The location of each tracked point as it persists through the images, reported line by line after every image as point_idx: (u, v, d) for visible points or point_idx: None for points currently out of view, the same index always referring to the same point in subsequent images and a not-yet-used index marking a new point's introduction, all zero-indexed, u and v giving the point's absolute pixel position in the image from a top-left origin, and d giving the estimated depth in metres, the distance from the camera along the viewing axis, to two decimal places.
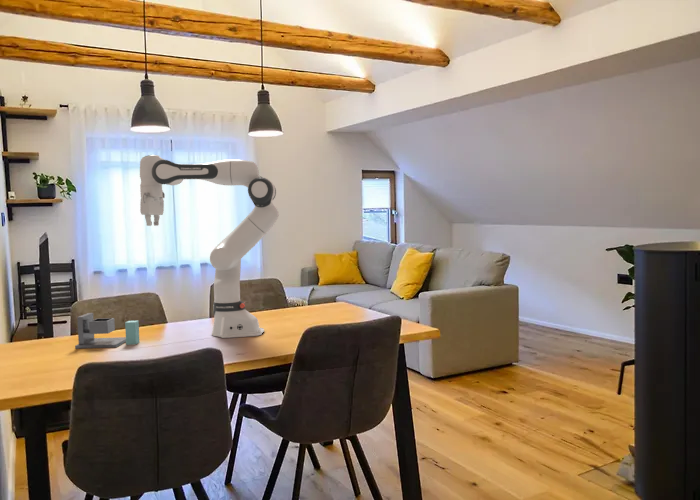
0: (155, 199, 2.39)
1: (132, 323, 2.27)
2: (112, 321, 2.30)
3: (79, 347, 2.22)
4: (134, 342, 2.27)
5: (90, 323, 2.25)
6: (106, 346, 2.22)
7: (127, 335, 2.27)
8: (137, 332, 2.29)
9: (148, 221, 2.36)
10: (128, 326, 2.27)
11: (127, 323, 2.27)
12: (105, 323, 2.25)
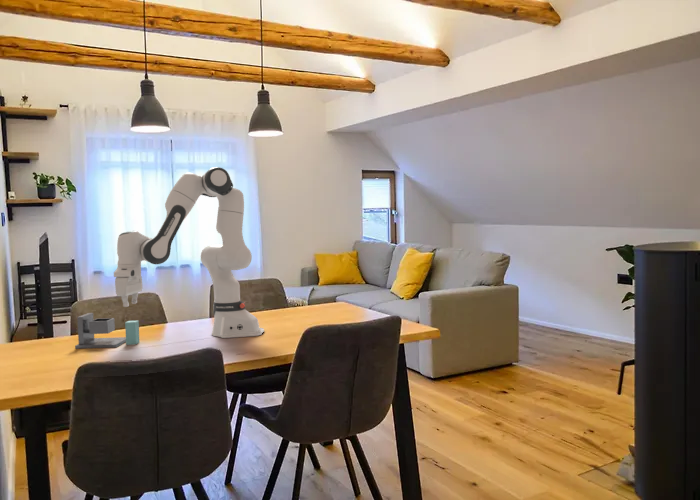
0: None
1: (132, 323, 2.27)
2: (112, 321, 2.30)
3: (79, 347, 2.22)
4: (134, 342, 2.27)
5: (90, 323, 2.25)
6: (106, 346, 2.22)
7: (127, 335, 2.27)
8: (137, 332, 2.29)
9: None
10: (128, 326, 2.27)
11: (127, 323, 2.27)
12: (105, 323, 2.25)
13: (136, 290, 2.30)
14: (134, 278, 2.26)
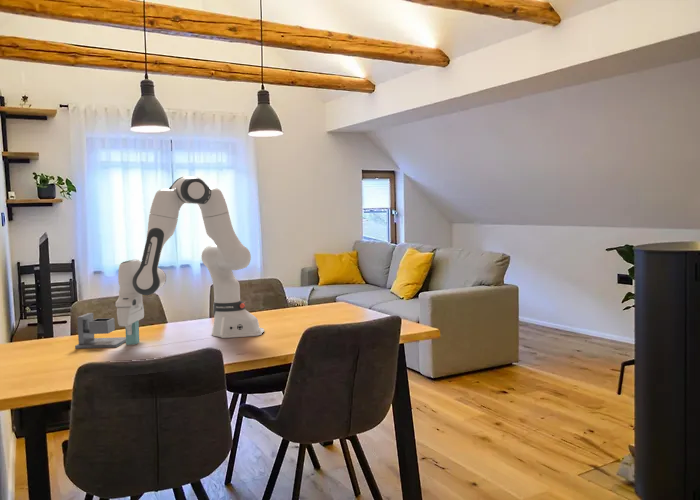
0: None
1: None
2: (112, 321, 2.30)
3: (79, 347, 2.22)
4: (134, 342, 2.27)
5: (90, 323, 2.25)
6: (106, 346, 2.22)
7: (127, 335, 2.27)
8: (137, 332, 2.29)
9: None
10: None
11: None
12: (105, 323, 2.25)
13: (138, 318, 2.31)
14: (136, 307, 2.27)
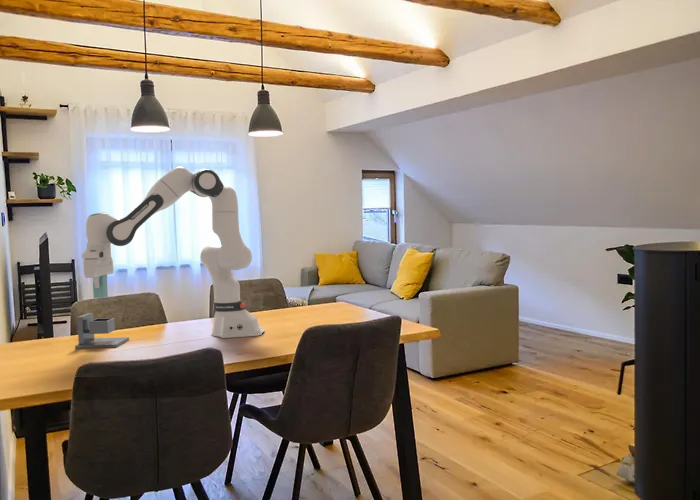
0: None
1: (100, 276, 2.25)
2: (112, 321, 2.30)
3: (79, 347, 2.22)
4: (102, 295, 2.26)
5: (90, 323, 2.25)
6: (106, 346, 2.22)
7: (95, 288, 2.26)
8: (105, 286, 2.28)
9: None
10: None
11: None
12: (105, 323, 2.25)
13: (106, 272, 2.30)
14: (103, 260, 2.25)
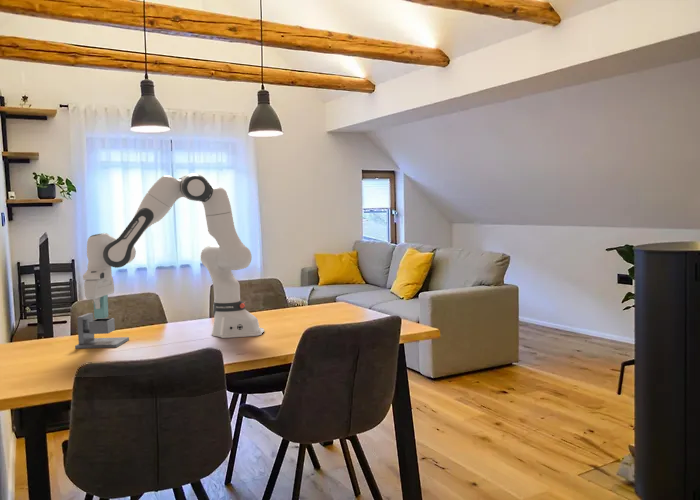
0: None
1: (100, 297, 2.26)
2: (112, 321, 2.30)
3: (79, 347, 2.22)
4: (102, 316, 2.26)
5: (90, 323, 2.25)
6: (106, 346, 2.22)
7: (95, 309, 2.26)
8: (106, 306, 2.28)
9: None
10: None
11: None
12: (105, 323, 2.25)
13: (107, 292, 2.30)
14: (104, 280, 2.26)
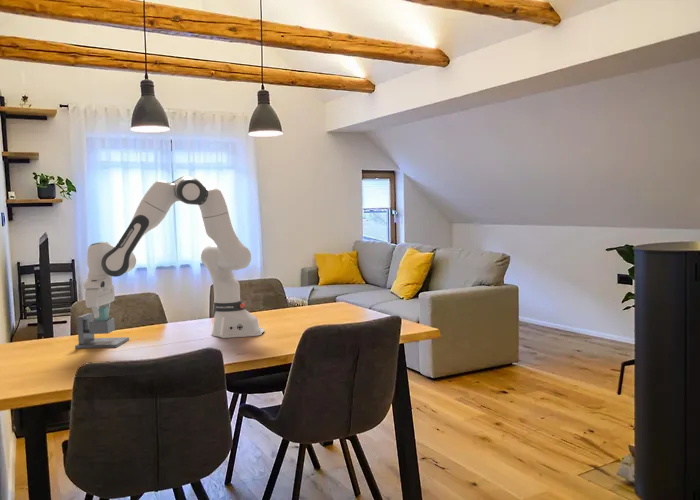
0: None
1: (101, 309, 2.26)
2: (112, 321, 2.30)
3: (79, 347, 2.22)
4: None
5: (90, 323, 2.25)
6: (106, 346, 2.22)
7: None
8: (107, 318, 2.29)
9: None
10: None
11: None
12: (105, 323, 2.25)
13: (107, 301, 2.30)
14: (105, 289, 2.26)
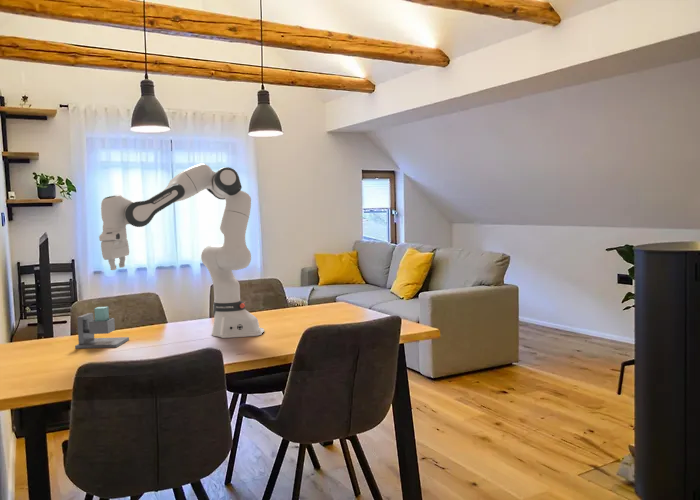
0: None
1: (101, 309, 2.26)
2: (112, 321, 2.30)
3: (79, 347, 2.22)
4: None
5: (90, 323, 2.25)
6: (106, 346, 2.22)
7: None
8: (107, 318, 2.29)
9: None
10: (97, 312, 2.26)
11: (96, 309, 2.26)
12: (105, 323, 2.25)
13: (123, 254, 2.33)
14: (120, 242, 2.29)
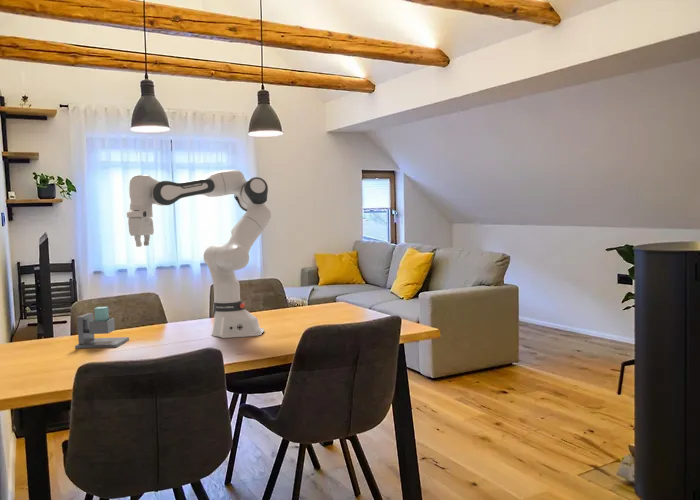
0: None
1: (101, 309, 2.26)
2: (112, 321, 2.30)
3: (79, 347, 2.22)
4: None
5: (90, 323, 2.25)
6: (106, 346, 2.22)
7: None
8: (107, 318, 2.29)
9: None
10: (97, 312, 2.26)
11: (96, 309, 2.26)
12: (105, 323, 2.25)
13: (148, 232, 2.40)
14: (146, 220, 2.36)
